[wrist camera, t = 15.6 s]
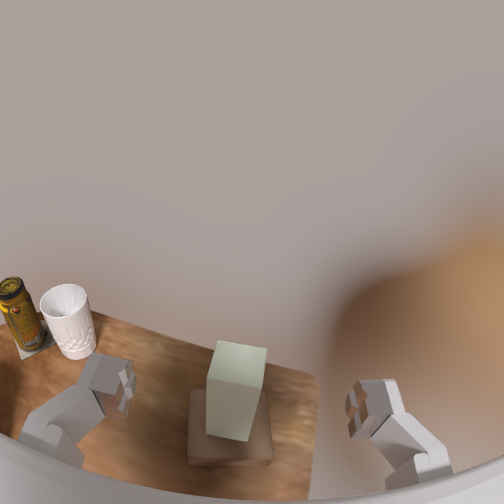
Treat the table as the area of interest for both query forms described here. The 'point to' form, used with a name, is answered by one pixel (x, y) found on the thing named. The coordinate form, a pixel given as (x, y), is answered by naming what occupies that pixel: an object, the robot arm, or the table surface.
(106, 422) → the table surface
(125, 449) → the table surface
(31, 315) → the condiment
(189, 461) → the walnut base
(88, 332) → the white cup
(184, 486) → the table surface
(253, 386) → the sage block
